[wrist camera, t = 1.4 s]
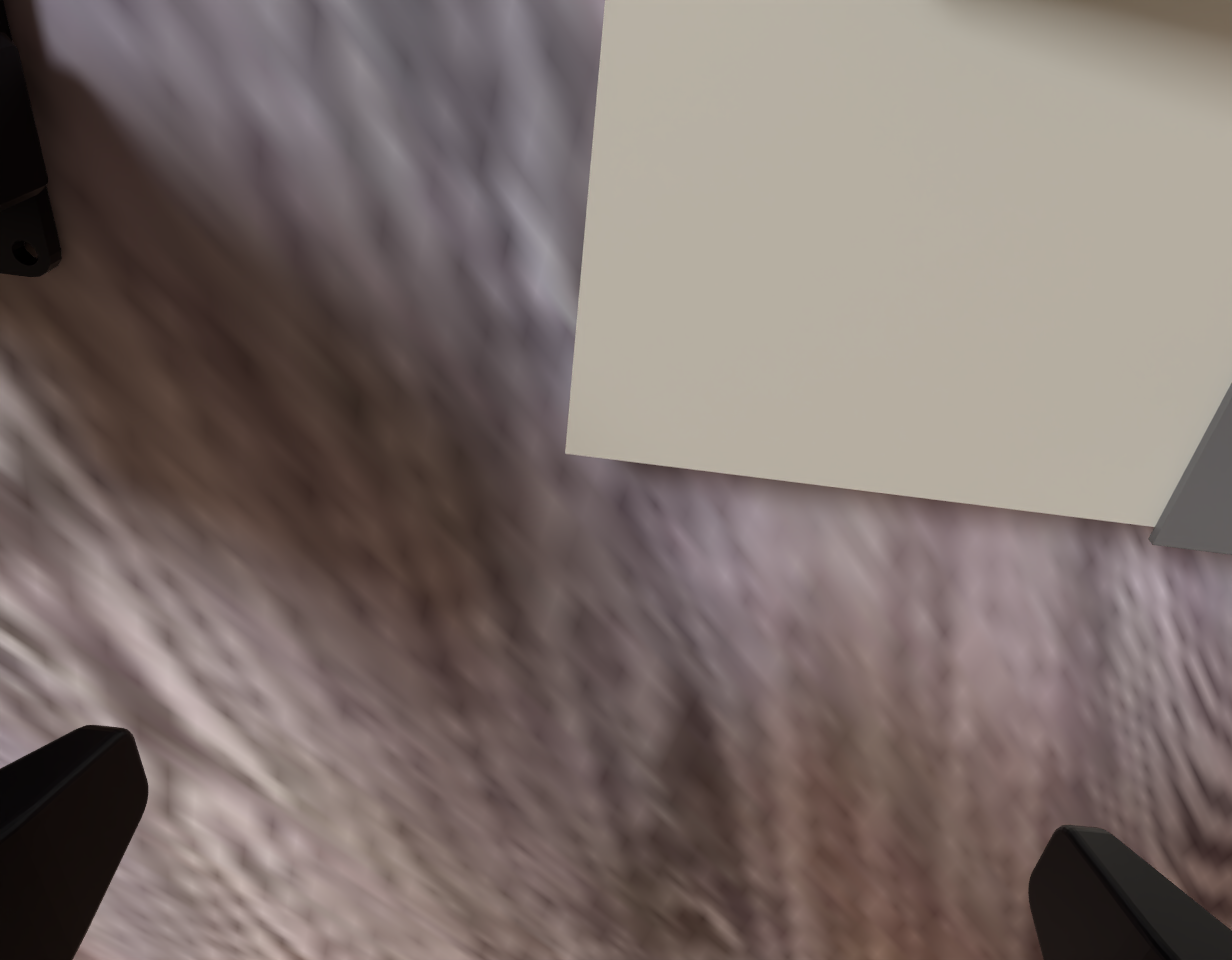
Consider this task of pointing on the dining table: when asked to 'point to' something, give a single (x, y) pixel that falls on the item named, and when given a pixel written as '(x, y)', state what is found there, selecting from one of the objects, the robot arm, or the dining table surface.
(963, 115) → the panel
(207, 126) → the dining table surface
